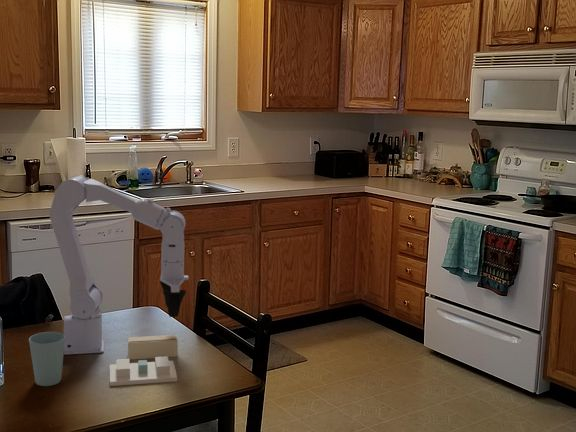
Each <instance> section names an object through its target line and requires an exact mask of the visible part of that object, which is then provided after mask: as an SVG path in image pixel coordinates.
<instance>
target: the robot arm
mask: <svg viewBox="0 0 576 432" xmlns="http://www.w3.org/2000/svg"><path fill="white" fill-rule="evenodd" d="M84 201H85V202H86V203H91V202H97V201H101V202H103V203H106V204H109V205H111V206H112V207H113V206H114V207H115V208H116V207H117V208H119V209H122V210H124V211H125V212H129V213H130V214H131V215H132V218H133V220H134V221H137V222H139V223H142V224H143V225H146V226H147V227H151V228H153V229H154V230H157V231H159V230H160V232H161V234H162V241H161V251H160V253H161V257H160V259H161V260H160V261H161V262H160V263H161V264H160V270H161V272H160V278H159V283H160V285H161V287H162V294H163V295H164V296H163V297H164V302H165V306H166V308H167V313H168V316H169V318H177V317H179V313H180V309H181V304H182V301H183V299H184V297H185V295H186V293H187V291H186V289H180V286H181V285H182V284H183V283H184V281H188V280H189V275H187V274H186V275H185V247H186V246H185V241H184V240H185V234H184V233H185V232H184V231H185V227H186V223H187V222H186V218H185V217H184V215H183V213H180V211H178V210H172V209H171V208H170V207H166V208H165V207H163V206H161V205H159V204H156V203H154V199H152V198H150V197H149V198H148V199H145V198H142V199H141V198H140V199H138V200H137V199H134V198H132V197H129V196H128V195H126V194H124V193H121V192H120V191H118V190H116V189H114V188H112V187H110V186H108V185H106V184H104V183H102V182H100V181H98V180H96V179H92V178H88V177H86V176H85V175H82V174H76V175H73V176H72V177H70V178H68V179H66V180H63V181H62V182H61V183H60V184H59V185H58V187H57V188H56V189H55V191H54V192H53V200H52V203H51V207H50V210H49V220H50V221H51V225H52V229H53V231H54V232H53V233H54V236H55V239H56V242H57V245H58V249H59V251H60V255H61V258H62V260H63V265H64V268H65V271H66V273H67V277H68V280H69V292H68V293H69V296H70V304H69V309H70V312H71V314H69V315H64V316H63V334H64V335H65V344H64V355H82V354H99V353H104V349H105V347H104V345H105V344H104V343H105V340H104V339H103V326H102V324H103V323H102V321H103V319H102V318H103V314H102V311H101V309H100V307H99V306H100V305H101V304H102V301H103V298H104V297H103V296H104V294H103V291H102V290H101V288H100V287H98V286H97V284H96V282H95V278H94V277H92V275H91V274H90V271H89V267H88V264H87V261H86V256H85V254H84V251H83V248H82V245H81V241H80V237H79V235H78V234H79V233H78V231H77V227H76V225H75V221H74V218H73V215H74V214H75V212H76V210H77V209H78V208H79V206H80V204H81V203H83V202H84Z"/></svg>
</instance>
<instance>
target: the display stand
mask: <svg viewBox="0 0 576 432" xmlns="http://www.w3.org/2000/svg"><path fill="white" fill-rule="evenodd" d="M173 382H175V383H176V382H178V374H177V371H176V366H175V362H174V360H169V357H168V356H164V357H155V358H154V361H148V360H147V359H142V360H141V359H138V360H137V362H131V363H130V359H129V358H122V359H121V358H120V359H119V358H118V359H116V360H115V363H113V364H109V386H110V387H114V386H127V385H129V386H130V385H142V384H143V385H144V384H146V385H147V384H157V383H158V384H159V383H173Z"/></svg>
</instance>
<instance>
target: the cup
mask: <svg viewBox="0 0 576 432" xmlns="http://www.w3.org/2000/svg"><path fill="white" fill-rule="evenodd" d="M28 343H29V348H30V356H31V362H32V370H33V376H34V383H35V384H36V385H37V386H41V387H51V386H54V385H57V384H60V382H62V381H61V380H62V375H63V374H62V373H63V362H64V355H65V354H64V344H65V335H64V333H63V332H58V331H44V332H43V331H42V332H38V333H35V334H33V335H31V336H30V337H29V338H28Z"/></svg>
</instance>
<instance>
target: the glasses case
mask: <svg viewBox="0 0 576 432" xmlns="http://www.w3.org/2000/svg"><path fill="white" fill-rule="evenodd" d="M177 336H178V335H177V334H168V335H167V334H166V335H163V334H162V335H148V336H129V337H127V354H128V355H127V356H128V357H127V359H129V360H141V359H142V360H146V359H155V357H164V356H168V358H173V357H174V358H175V357H178V353H179V352H178V343H179V341H178V337H177Z"/></svg>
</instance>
